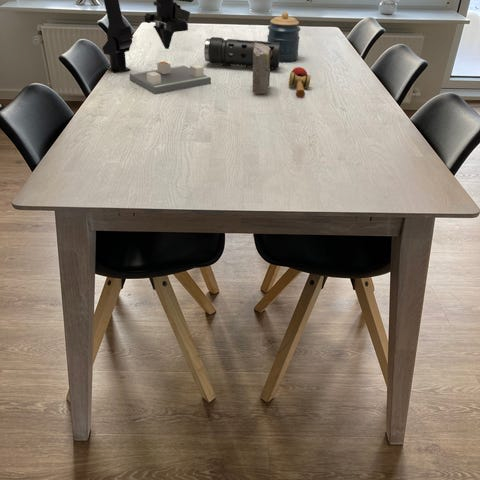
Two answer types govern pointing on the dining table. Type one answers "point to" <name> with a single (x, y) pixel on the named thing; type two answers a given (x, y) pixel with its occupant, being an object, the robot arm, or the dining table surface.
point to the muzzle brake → (237, 52)
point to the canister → (285, 36)
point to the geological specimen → (261, 68)
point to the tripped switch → (164, 67)
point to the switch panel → (171, 79)
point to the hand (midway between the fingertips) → (166, 48)
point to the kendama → (299, 80)
